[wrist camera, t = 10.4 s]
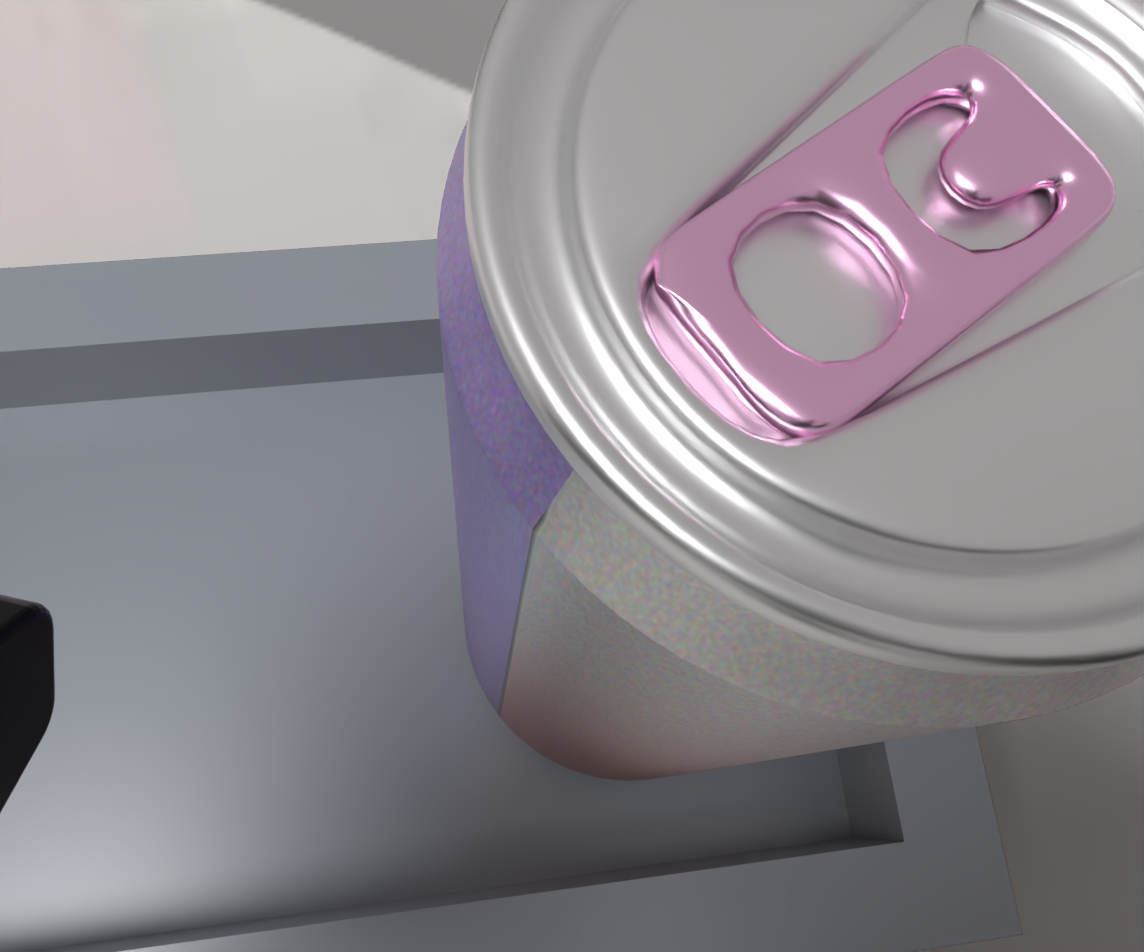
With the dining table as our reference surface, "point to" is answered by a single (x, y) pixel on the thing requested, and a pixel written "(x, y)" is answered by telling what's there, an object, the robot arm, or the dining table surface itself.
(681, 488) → the beverage can
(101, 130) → the dining table surface
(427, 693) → the tray
